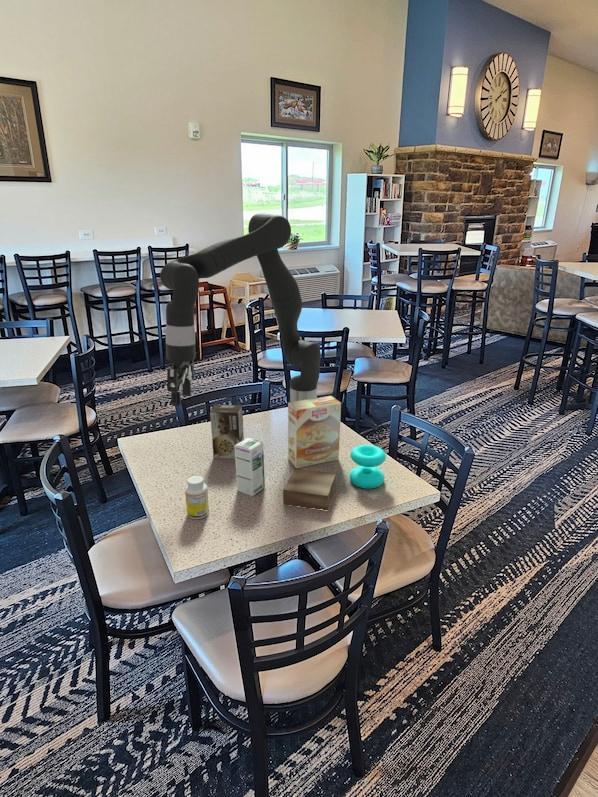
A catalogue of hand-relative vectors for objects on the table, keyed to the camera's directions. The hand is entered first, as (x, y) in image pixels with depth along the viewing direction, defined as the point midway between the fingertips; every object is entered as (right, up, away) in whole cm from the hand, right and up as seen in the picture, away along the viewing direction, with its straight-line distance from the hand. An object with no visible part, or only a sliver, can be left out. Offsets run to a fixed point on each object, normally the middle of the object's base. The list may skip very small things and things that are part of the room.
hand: (181, 400), depth 135 cm
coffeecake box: (+37, -19, +22) cm, 47 cm away
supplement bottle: (+6, -30, -6) cm, 31 cm away
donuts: (+52, -24, +10) cm, 58 cm away
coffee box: (+9, -18, +25) cm, 32 cm away
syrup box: (+18, -25, +5) cm, 32 cm away
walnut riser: (+35, -27, +2) cm, 44 cm away
